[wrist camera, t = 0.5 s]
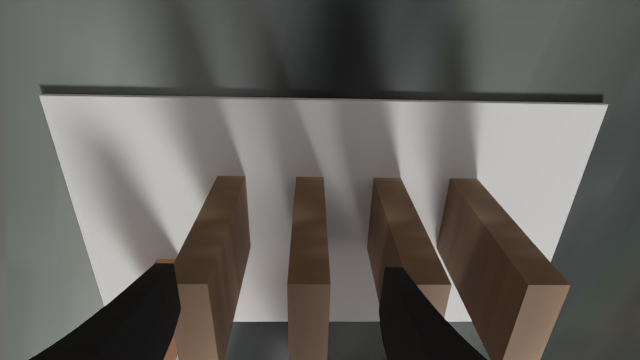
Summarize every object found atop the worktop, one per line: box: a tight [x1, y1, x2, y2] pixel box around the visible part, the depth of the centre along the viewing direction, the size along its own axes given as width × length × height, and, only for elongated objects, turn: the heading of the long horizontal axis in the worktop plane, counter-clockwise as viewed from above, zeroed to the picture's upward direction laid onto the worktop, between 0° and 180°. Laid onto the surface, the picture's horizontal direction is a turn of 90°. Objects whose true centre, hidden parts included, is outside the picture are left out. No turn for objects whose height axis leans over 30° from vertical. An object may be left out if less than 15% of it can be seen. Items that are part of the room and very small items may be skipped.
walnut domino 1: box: [174, 176, 251, 360], centre depth 19 cm, size 2×5×9 cm, turn 179°
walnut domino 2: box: [287, 177, 331, 360], centre depth 19 cm, size 2×5×9 cm, turn 179°
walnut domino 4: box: [437, 178, 570, 360], centre depth 19 cm, size 2×5×9 cm, turn 179°
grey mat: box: [40, 94, 608, 322], centre depth 24 cm, size 16×30×1 cm, turn 89°
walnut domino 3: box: [367, 178, 452, 317], centre depth 19 cm, size 2×5×9 cm, turn 179°
